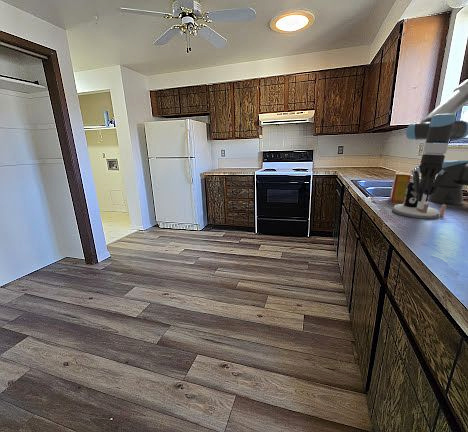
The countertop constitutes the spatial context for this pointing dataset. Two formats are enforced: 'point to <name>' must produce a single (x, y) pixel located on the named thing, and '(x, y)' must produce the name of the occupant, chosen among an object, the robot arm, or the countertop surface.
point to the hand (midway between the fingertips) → (419, 208)
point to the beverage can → (410, 196)
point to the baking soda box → (399, 187)
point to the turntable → (416, 210)
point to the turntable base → (422, 216)
